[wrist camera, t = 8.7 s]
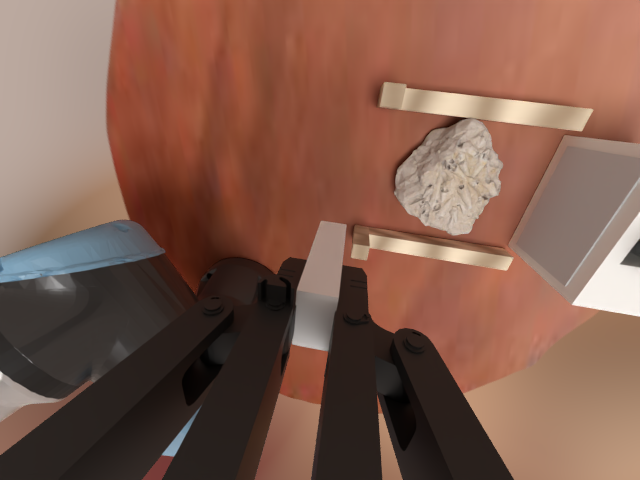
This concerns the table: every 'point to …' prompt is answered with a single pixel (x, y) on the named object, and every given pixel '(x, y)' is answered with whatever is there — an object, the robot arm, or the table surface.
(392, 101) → the track
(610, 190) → the white button box
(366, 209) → the table surface
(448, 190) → the rock
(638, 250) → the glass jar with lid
